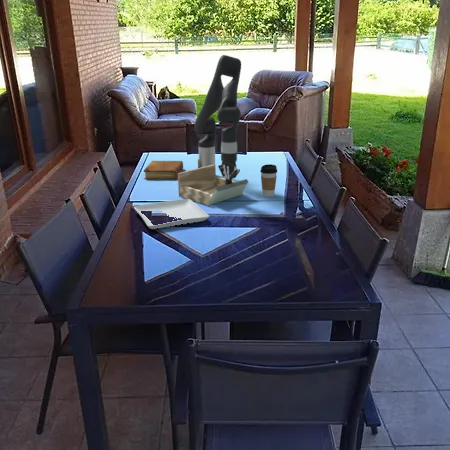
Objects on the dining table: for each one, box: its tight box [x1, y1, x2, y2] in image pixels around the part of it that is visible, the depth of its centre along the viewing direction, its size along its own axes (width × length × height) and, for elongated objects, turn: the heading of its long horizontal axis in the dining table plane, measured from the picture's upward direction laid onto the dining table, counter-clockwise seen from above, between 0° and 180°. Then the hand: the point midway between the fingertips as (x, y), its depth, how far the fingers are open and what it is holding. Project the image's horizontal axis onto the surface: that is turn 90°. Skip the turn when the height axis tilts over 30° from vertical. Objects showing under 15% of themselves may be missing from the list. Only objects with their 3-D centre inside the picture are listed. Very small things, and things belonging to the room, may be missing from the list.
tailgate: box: [210, 178, 249, 205], centre depth 240 cm, size 2×20×10 cm
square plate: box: [133, 198, 210, 230], centre depth 221 cm, size 27×27×4 cm
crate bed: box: [177, 164, 244, 206], centre depth 248 cm, size 22×24×12 cm
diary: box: [143, 160, 184, 180], centre depth 290 cm, size 23×19×6 cm
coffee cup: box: [260, 163, 278, 198], centre depth 247 cm, size 8×8×15 cm
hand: (228, 186), depth 239 cm, fingers closed
